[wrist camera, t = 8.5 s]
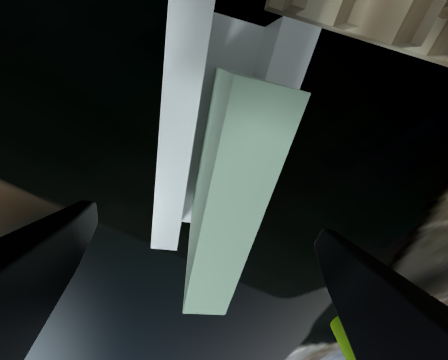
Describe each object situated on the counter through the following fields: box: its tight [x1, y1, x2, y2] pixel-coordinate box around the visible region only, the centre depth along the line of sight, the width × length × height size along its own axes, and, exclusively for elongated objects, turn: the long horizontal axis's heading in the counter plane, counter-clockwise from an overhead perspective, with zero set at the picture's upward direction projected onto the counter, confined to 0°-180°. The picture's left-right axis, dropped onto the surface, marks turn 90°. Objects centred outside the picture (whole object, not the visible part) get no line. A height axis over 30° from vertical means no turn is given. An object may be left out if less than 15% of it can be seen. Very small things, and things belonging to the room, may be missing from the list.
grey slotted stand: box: [151, 0, 322, 251], centre depth 15 cm, size 7×16×4 cm, turn 168°
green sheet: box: [183, 67, 311, 315], centre depth 12 cm, size 2×10×10 cm, turn 167°
